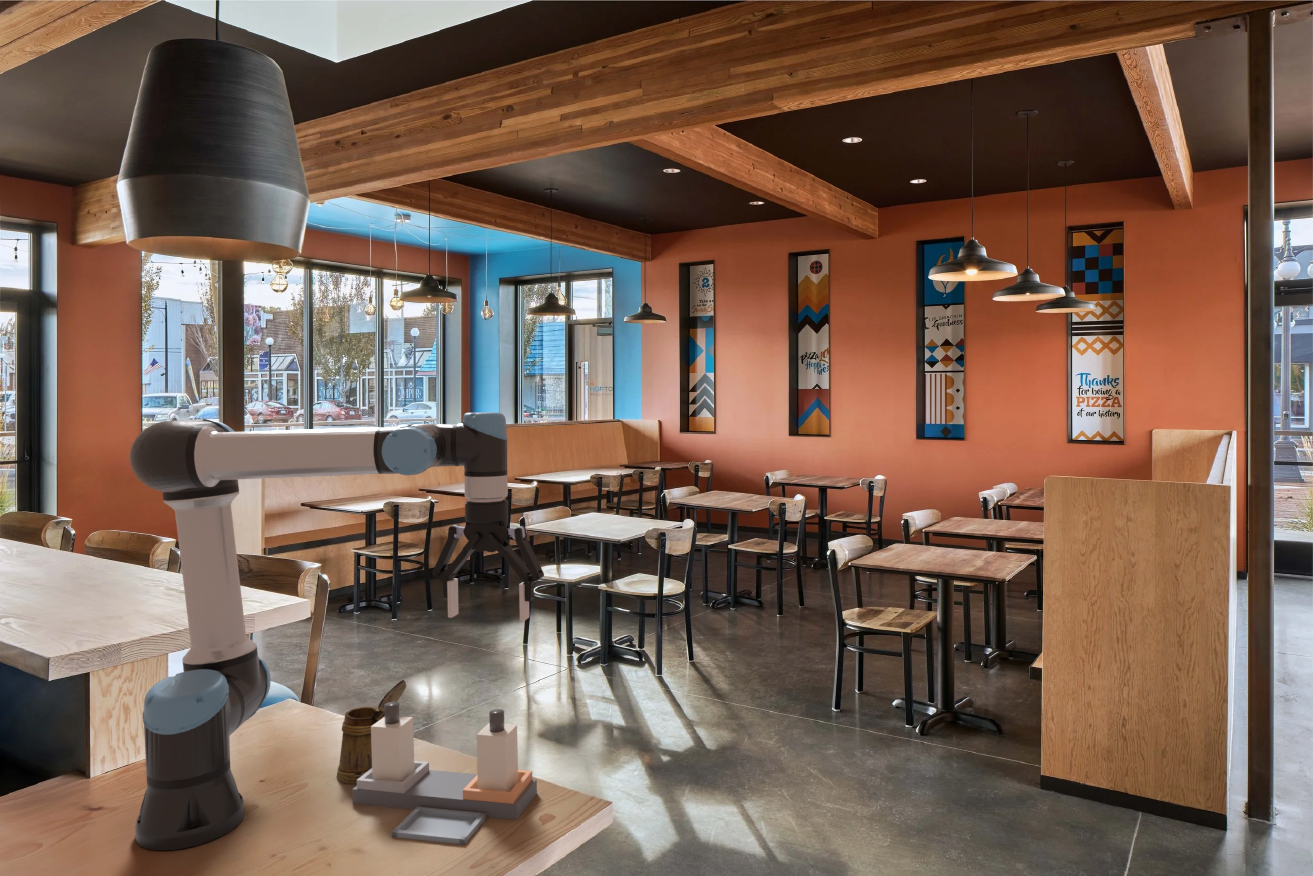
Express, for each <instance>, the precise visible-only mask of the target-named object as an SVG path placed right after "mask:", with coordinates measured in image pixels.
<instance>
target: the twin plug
mask: <svg viewBox="0 0 1313 876" xmlns="http://www.w3.org/2000/svg"><path fill="white" fill-rule="evenodd" d="M384 712H385V717H383V718H382V719H381V720H379V721H378V722H376V723H375V724H374V725H372V726H371V747H372V779H376V780H387V781H398V782H402V781H404V780H405V779H406V778H407V777H408V776H409V775H410V774H411V773H413V772H414V771H415V770H414V761H415V744H414V741H415V740H414V737H415V736H414V734H415V733H414V716H413V717H412V716H404V715H403V716H402V715H400V702H398V701H397V702H389V703H386V704H385V705H384Z"/></svg>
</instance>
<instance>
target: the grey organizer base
mask: <svg viewBox="0 0 1313 876" xmlns="http://www.w3.org/2000/svg"><path fill="white" fill-rule="evenodd" d="M414 770H415V771H414V772H413V773H411V774H410V775H409V776H408V777H407V778H406V779H405V780H404V781H402V782H398V781H387V780H376V779H372V768H371V769H370V770H369V771H367V772H366V773H365V774H364V775H362V776H361V777H360V778H359V779H357V784H356V785H355V787H353V788H352V791H351V792H352V804H356V805H362V806H363V805H364V806H374V807H385V808H393V809H403V810H404V809H405V810H412V811H413V810H414V809H415V808H416V807H427V808H437V809H447V810H457V811H467V812H477V813H486V818H493V819H502V820H503V819H505V820H515V821H518V820H519V818H520V816H521V815H522V814H523V813H524V811H525V810H526V809H527V808H528V806H529V805H530V804H531V803H532V801H533V799H534V798H535V797H536V796H537V794H538V782H537V781H538V780H537V779H536V778H533V770H525V769H518V783H517V784H516V785H515V787H514V788H513V789H512V790H511V791H510V792H506V791H495V790H484V789H478V775H477V773H467V772H456V771H448V770H447V771H446V770H437V769H434V770H433V769H430V761H420V760H414Z"/></svg>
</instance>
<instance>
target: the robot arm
mask: <svg viewBox="0 0 1313 876" xmlns="http://www.w3.org/2000/svg"><path fill="white" fill-rule="evenodd" d="M507 432H508V431H507V419H506V416H505V415H504V414H503V413H501V412H498V411H497V412H495V411H494V412H492V411H489V412H485V411H484V412H481V411H480V412H466V413H464V414H463V417H462V421H461V422H460V423H454V424H453V423H448V424H447V423H408V424H399V425H397V426H385V427H355V428H354V427H353V428H324V429H323V428H317V429H289V430H288V429H287V430H286V429H285V430H283V429H282V430H258V431H257V430H255V431H251V430H250V431H235V430H234V429H232V428H231V427H230V426H228V424H225V423H223V422H220V421H217V420H213V419H212V420H211V419H208V418H194V419H185V420H184V419H182V420H164V421H160V422H156V423H154V424H152V425H149V426H148V427H146V428H144V429H143V430H142V431H141V432H139V434H138V435H137V436H136V437H135V439H134V441H133V442H132V444H131V447H130V450H129V462H130V468H131V470H132V472H133V473H134V475H135V476H136V478H137V479H138V480H139V481H140V482H141V483H143V484H144V485H145V486H146V487H148V488H151V489H152V490H154V491H159V492H161V493H162V501H163V503H164V504H165V505H167V506H168V507H170V508H171V509H173V511H174V515H175V522H176V524H175V525H176V532H177V533H176V534H177V540H178V548H179V549H178V550H179V555H180V565H181V572H182V580H183V581H182V583H183V590H184V597H185V605H186V606H185V608H186V614H187V623H188V631H189V640H190V641H189V642H190V649H189V650H188V651H187V652H186V653H185V654H184V656H183V657H182V668H183V671H182V672H179V673H176V674H175V675H174V676H167V677H165V678H163V679H161V680H159V681H158V682H157V683H155V684H154V685H152V686H151V687H150V688H149V689H148V691H147V693H146V694H145V697H144V700H143V712H142V722H143V728H144V729H143V731H144V749H145V750H144V751H145V752H144V754H145V768H146V769H145V770H146V771H145V772H146V789H145V793H144V796H143V798H142V803H141V806H140V809H139V814H138V817H137V818H136V822H135V826H134V827H135V828H134V829H135V842H136V843H137V844H138V846H140V847H141V848H144V849H147V850H153V851H174V850H175V851H176V850H182V849H187V848H191V847H195V846H200V845H202V844H203V845H204V844H205V843H209V842H211V841H214V840H215V839H219V838H220V837H222V836H225V835H226V834H228V833H230V832H231V831H232V830H234V829H235V828H237V827H238V825H239V824H240V823H242V821H243V819H244V818H245V801H244V798H243V796H242V794H241V793H240V792H239V789H238V786H237V782H236V780H235V777H234V774H233V772H232V770H231V748H230V747H231V745H230V743H231V741H230V736H232V734H233V733H234V732H235V731H236V730H238V728H240V726H242V725H243V724H244V723H245V722H246V721H248V720H249V719H251V718H252V717H253V716H254V715H255V714H256V713H257V711H259V710H260V708H262V705H263V704H264V702H265V700H266V699H267V696H269V692H270V689H271V682H272V681H271V672H270V670H269V667H268V665H267V663H266V662H265V661H264V659H261V658H260V657H259V653H258V647H257V642H255V641H253V640H252V639H250V638H249V637H248V636H247V631H246V623H245V615H244V607H243V598H242V597H243V596H242V589H241V580H240V572H239V571H240V570H239V564H238V555H237V548H236V546H237V545H236V537H235V536H236V535H235V530H234V529H235V527H234V521H233V512H232V503H233V501H235V498H237V496H239V494H240V489H239V488H240V487H239V480H256V479H257V480H260V479H283V478H286V479H287V478H306V477H307V478H308V477H309V478H310V477H312V478H313V477H332V476H335V477H336V476H357V475H359V476H360V475H363V476H364V475H396V474H398V475H401V476H417V475H420V474H421V473H424V472H425V471H426V470H428V469H430V468H436V467H463V469H464V471H463V472H464V498H465V499H467V500H466V501H465V503H464V519H465V520H464V521H465V526H460V524H458V523H457V524H454V525H450V526H449V527H448V532H447V539H446V541H445V543H444V545H443V548H442V549H441V552H440V554H439V557H438V559H437V560H436V563H435V566H434V567H433V570H432V573H431V574H432V577H437V578H440V579H441V580H442V593H443V594H442V596H443V598H444V599H447V618H449V619H451V618H452V619H453V618H454V617H456V616H458V615H459V578H454V577H455V575H456V574H457V573H458V572H459V570H460V569H461V567H462V566H463V565H464V564H465V562H466V561H467V560H468V559H469V558H470V556H471V555H472V554H473V553H474V552H475V551H476V552H477V553H483V552H487V553H495V552H497V553H498V554H499V555H501V556H502V557H503V558H504V560H506V562H507V563H508V565H509V566H510V567H511V568H512V569H513V571H514V573H516V575H517V576H518V577H519V578H520V580H521V581H522V582H521V583H519V584H518V588H519V589H518V591H519V592H518V593H519V622H525V621H526V620H528V619H529V618H530V602H531V601H533V600H534V598H535V595H534V594H535V586H534V585H535V584H534V583H535V582H536V581H537V582H538V581H539V580H541V579H542V578H544V577H545V573H544V570H543V568H542V566H541V565H540V563H539V560H538V559H537V556H536V554H535V552H534V550H533V548H532V545H531V544H530V542H529V539H528V537H527V529H526V527H525V526H524V525H520V526H518V527H510V525H509V501H508V500H507V499H506V498H507V497H508V494H509V490H508V489H509V487H508V485H509V484H508V434H507ZM463 535H464V537H465V538H466V540H467V542H466V543H465V545H464V546H463V547H462V549H461V550H460V552H459V553H458V555H457V556H456V557H455V558H454V560H453V561H452V562H451V563H450V561H451V559H452V556H453V553H454V552H455V549H456V547H457V545H458V543H459V540H460V538H462V537H463ZM510 536H511V537H512V539H513V540H514V541H515V544H516V546H517V548H518V550H519V551H520V554H521V556H522V558H523V560H524V562H523V560H522V559H521V557H519V555H518V554H517V553H516V551H515V550H514V549H513V546H512V545H511V543H510V542H509V541H508V539H509V538H510ZM449 563H450V565H449ZM448 565H449V566H448Z"/></svg>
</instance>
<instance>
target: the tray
mask: <svg viewBox="0 0 1313 876" xmlns="http://www.w3.org/2000/svg"><path fill="white" fill-rule="evenodd" d="M486 820H487V817H486V813H477V812H467V811H457V810H447V809H437V808H427V807H416V808H415V809H414V810H412V811H411V812H410V813H409V814H408V815H407V816H406V817H405V818H404V819H403V820H402V821H401V822H400V823H399V824H398V825H397V826H396V827H395V828H394V829H393V830H392V831H391V838H397V839H407V840H416V841H425V842H434V843H443V844H445V843H446V844H452V845H462V846H465V845H466V844H467V843H468V842H469V841H470V840H471V838H472V836H474V834H475V833H476V832H477V830H478V829H480V827H481V826H482V824H483V823H485V821H486Z"/></svg>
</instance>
